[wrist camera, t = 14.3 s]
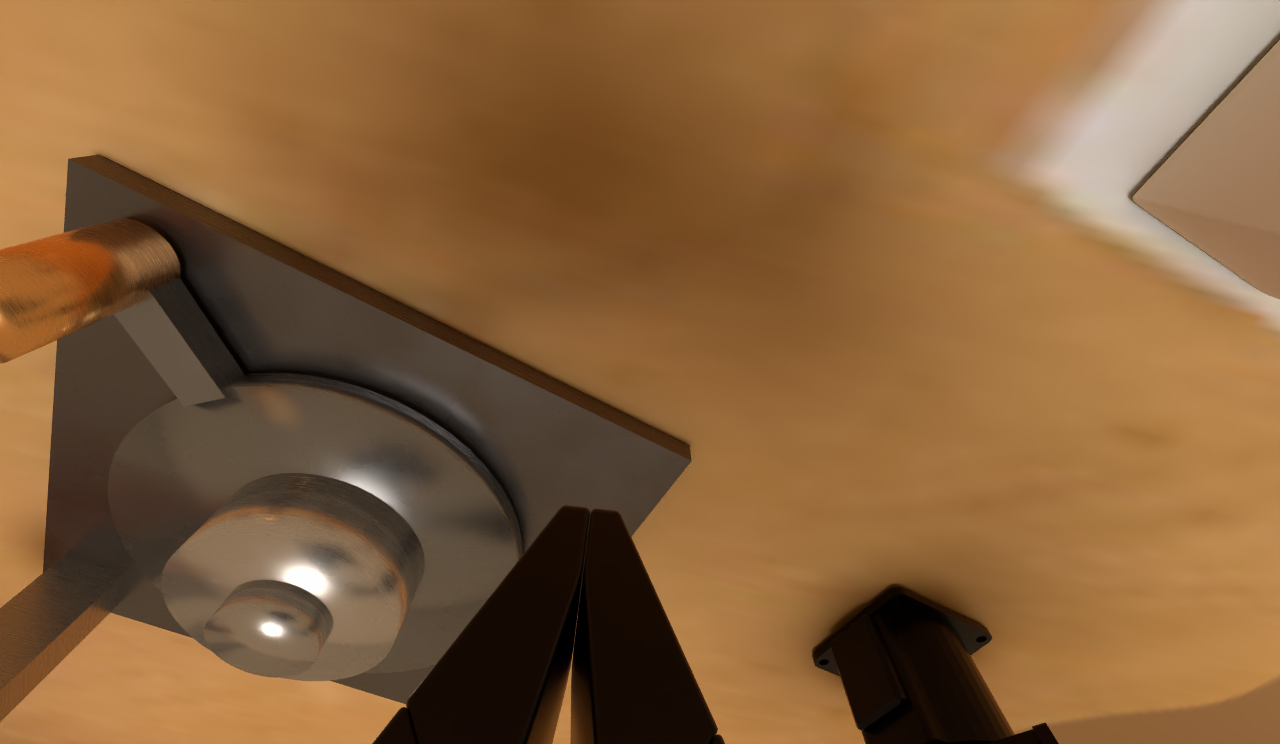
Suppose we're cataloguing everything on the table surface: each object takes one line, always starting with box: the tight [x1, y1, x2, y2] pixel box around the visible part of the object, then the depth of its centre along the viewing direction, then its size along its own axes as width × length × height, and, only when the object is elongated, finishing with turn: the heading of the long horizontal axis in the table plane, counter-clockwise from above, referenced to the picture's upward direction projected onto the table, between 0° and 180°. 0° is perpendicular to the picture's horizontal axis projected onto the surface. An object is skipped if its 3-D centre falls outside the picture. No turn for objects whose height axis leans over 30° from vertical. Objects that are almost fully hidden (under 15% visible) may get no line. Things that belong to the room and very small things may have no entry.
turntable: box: [0, 219, 523, 673], centre depth 19 cm, size 16×22×5 cm
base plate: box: [43, 155, 691, 704], centre depth 23 cm, size 22×22×1 cm
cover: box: [161, 473, 425, 681], centre depth 20 cm, size 8×8×4 cm
